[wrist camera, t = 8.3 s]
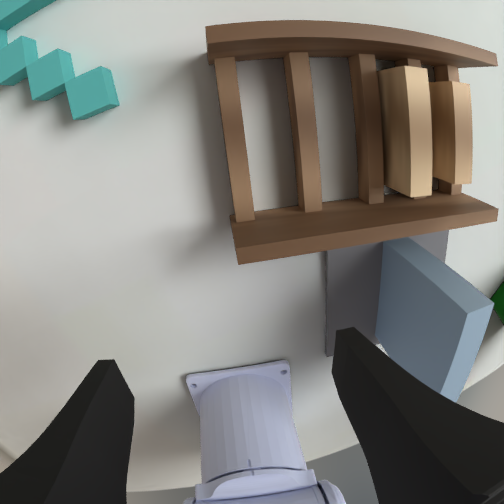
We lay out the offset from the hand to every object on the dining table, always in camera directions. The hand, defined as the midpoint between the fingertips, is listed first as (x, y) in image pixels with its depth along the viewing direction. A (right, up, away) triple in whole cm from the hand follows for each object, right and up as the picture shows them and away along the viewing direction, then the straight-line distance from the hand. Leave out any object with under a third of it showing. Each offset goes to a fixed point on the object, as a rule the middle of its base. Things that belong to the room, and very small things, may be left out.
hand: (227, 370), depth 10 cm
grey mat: (+11, +1, +12) cm, 17 cm away
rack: (+7, +11, +8) cm, 15 cm away
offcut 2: (+12, +12, +8) cm, 19 cm away
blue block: (+11, +1, +12) cm, 16 cm away
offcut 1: (+9, +11, +8) cm, 17 cm away
